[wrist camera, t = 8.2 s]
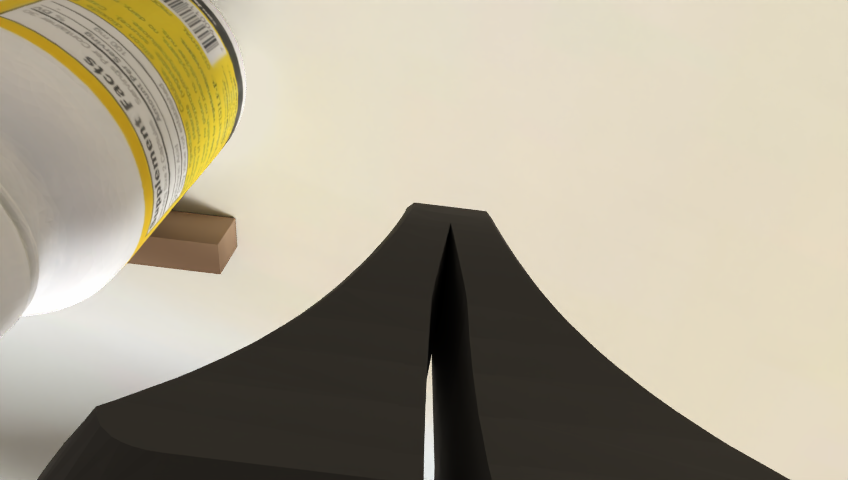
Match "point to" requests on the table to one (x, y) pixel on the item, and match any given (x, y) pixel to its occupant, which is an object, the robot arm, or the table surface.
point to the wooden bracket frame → (189, 243)
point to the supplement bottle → (102, 135)
